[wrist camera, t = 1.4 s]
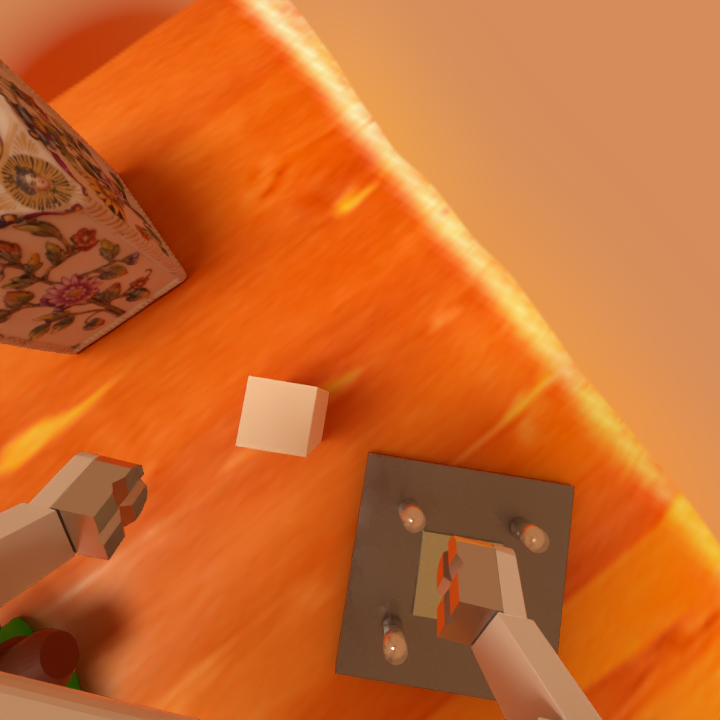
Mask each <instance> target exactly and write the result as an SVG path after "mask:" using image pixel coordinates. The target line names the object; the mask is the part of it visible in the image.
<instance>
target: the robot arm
mask: <svg viewBox="0 0 720 720" xmlns="http://www.w3.org/2000/svg"><path fill="white" fill-rule="evenodd" d="M143 474H144V472H143V469H142V465H138V464H134V463H130V462H126V461H122V460H117V459H113V458H109V457H105V456H102V455H97V454H93V453H88V452H84V451H82V452H80V453H78V454H76V455H75V456H73V457H72V458H71V459H70V461H69V462H68V463H67V464H66V465H65V466H64V467H63V468H62V469H61V470H60V471H59V472H58V473H57V474H56V475H55V476H54V477H53V478H52V479H51V480H50V482H49V483H48V484H47V485H46V486H45V487H44V488H43V489H42V490H41V491H40V492H39V493H38V494H37V495H36V496H35V497H34V498H33V499H32V500H31V501H30V503H24V502H22V503H20V504H18V505H16V506H14V507H12V508H10V509H8V510H5V511H3V512H1V513H0V607H1V606H3V605H4V604H6V603H7V602H9V601H10V600H12V599H13V598H14V597H16V596H17V595H19V594H20V593H22V592H23V591H25V590H26V589H28V588H29V587H30V586H32V585H33V584H35V583H36V582H38V581H39V580H41V579H42V578H44V577H45V576H46V575H48V574H49V573H51V572H52V571H54V570H55V569H57V568H58V567H59V566H61V565H62V564H64V563H65V562H67V561H68V560H70V559H71V558H73V557H74V556H75V554H79V555H84V556H89V557H94V558H99V559H104V560H109V559H110V558H111V556H112V555H113V553H114V552H115V550H116V549H117V547H118V546H119V544H120V543H121V541H122V540H123V538H124V537H125V528H124V527H125V526H127V525H128V524H130V523H132V522H134V521H135V520H136V519H137V517H138V516H139V514H140V513H141V511H142V509H143V507H144V504H145V501H146V499H147V486H146V484H145V483H144V482H143V481H142V480H141V479H140V478H141V477H142V476H143ZM437 591H438V593H439V594H440V596H441V598H442V600H441V602H440V603H439V605H438V607H437V637H439V638H443V639H447V640H451V641H454V642H458V643H462V644H466V645H470V646H472V647H471V649H472V651H473V653H474V655H475V657H476V660H477V662H478V664H479V666H480V668H481V670H482V672H483V674H484V676H485V678H486V680H487V683H488V685H489V687H490V689H491V691H492V693H493V695H494V697H495V699H496V701H497V703H498V706H499V708H500V710H501V712H502V714H503V716H504V718H505V720H602V719H601V717H600V716H599V714H598V713H597V711H596V710H595V708H594V707H593V706H592V704H591V703H590V701H589V700H588V698H587V697H586V695H585V694H584V693H583V691H582V690H581V688H580V687H579V685H578V684H577V682H576V681H575V680H574V678H573V677H572V675H571V674H570V672H569V671H568V669H567V668H566V667H565V665H564V664H563V662H562V661H561V659H560V658H559V656H558V655H557V654H556V652H555V651H554V649H553V648H552V646H551V645H550V643H549V642H548V641H547V639H546V638H545V636H544V635H543V633H542V632H541V630H540V629H539V628H538V626H537V625H536V623H535V622H534V620H531V619H528V618H527V614H526V609H525V603H524V598H523V592H522V587H521V581H520V576H519V570H518V565H517V559H516V554H515V552H514V550H513V549H511V548H508V547H504V546H499V545H494V544H491V543H488V542H483V541H478V540H473V539H468V538H464V537H459V536H452V537H451V538H450V540H449V542H448V551H445V552H443V554H442V556H441V558H440V561H439V566H438V570H437ZM0 720H200V719H196V718H192V717H187V716H183V715H179V714H175V713H171V712H167V711H163V710H158V709H154V708H150V707H146V706H142V705H138V704H134V703H129V702H125V701H121V700H117V699H113V698H109V697H105V696H100V695H96V694H92V693H88V692H84V691H80V690H76V689H71V688H67V687H63V686H59V685H55V684H51V683H47V682H43V681H38V680H34V679H30V678H26V677H22V676H18V675H14V674H9V673H5V672H1V671H0Z"/></svg>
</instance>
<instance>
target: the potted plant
mask: <svg viewBox="0 0 720 720" xmlns="http://www.w3.org/2000/svg"><path fill="white" fill-rule="evenodd" d="M78 658H79V648H78V644H77V642H76V640H75V638H74V637H73V636H72V635H71V634H70V633H68V632H65V631H61V630H57V629H52V628H46V629H42V630H39V631H37V632H35V633H34V632H33V631H32V630H31V629H30V627H29V626H28V625H27V624H26V623H25V622H24V621H23V620H22V619H21V618H20V617H16V618H14V619H12V620H11V621H10V622H9V623H8V624H6V625H5V626H3V627H2V628H1V627H0V671H1V672H5V673H9V674H14V675H18V676H22V677H26V678H30V679H34V680H38V681H43V682H47V683H51V684H55V685H59V686H63V687H67V688H71V689H76V690H80V691H81V688H80V683H79V681H78V678H77V675H76V673H75V671H74V670H75V667H76V665H77V662H78Z"/></svg>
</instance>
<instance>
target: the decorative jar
mask: <svg viewBox="0 0 720 720" xmlns="http://www.w3.org/2000/svg"><path fill="white" fill-rule="evenodd" d="M186 277H187V275H186V272H185V270H184V269H183V267H182V266H181V264H180V263H179V261H178V260H177V258H176V257H175V256H174V254H173V253H172V251H171V250H170V248H169V247H168V246H167V244H166V242H165V241H164V239H163V238H162V237H161V235H160V234H159V233H158V231H157V230H156V228H155V227H154V225H153V223H152V222H151V220H150V219H149V218H148V216H147V215H146V213H145V212H144V211H143V209H142V208H141V206H140V205H139V203H138V202H137V201H136V199H135V198H134V197H133V195H132V194H131V192H130V191H129V189H128V188H127V186H126V185H125V183H124V182H123V181H122V179H121V177H120V176H119V175H118V173H117V172H116V171H115V170H114V169H113V168H112V167H111V166H110V165H109V164H108V163H107V162H106V161H105V160H104V159H103V158H102V157H101V156H100V155H99V154H98V153H97V152H96V151H95V150H94V149H93V148H92V147H91V146H90V145H89V144H88V143H87V142H86V141H85V140H84V139H83V138H82V137H81V136H80V135H79V134H78V133H77V132H76V131H75V130H74V129H73V128H72V127H71V126H70V125H69V124H68V123H67V122H66V121H65V120H64V119H63V118H61V117H60V115H59V114H57V112H56V111H54V110H53V109H52V108H51V107H50V106H49V105H48V104H47V103H46V102H45V101H44V100H43V99H42V98H41V97H40V96H39V95H38V94H37V93H35V92H34V91H33V90H32V89H31V88H30V87H29V86H28V85H27V84H26V83H25V82H23V80H21V79H20V78H19V77H18V76H17V75H16V74H15V73H14V72H13V71H12V70H11V69H10V68H9V67H8V66H7V65H6V64H5V63H4V62H2V61H1V60H0V343H2V344H8V345H13V346H19V347H24V348H31V349H37V350H42V351H48V352H56V353H63V354H76V353H77V352H79V351H81V350H82V349H83V348H85V347H87V346H88V345H89V344H91V343H93V342H94V341H95V340H97V339H99V338H101V337H102V336H104V335H105V334H107V333H108V332H109V331H111V330H113V329H114V328H115V327H117V326H118V325H120V324H121V323H123V322H124V321H126V320H127V319H128V318H130V317H131V316H133V315H134V314H136V313H137V312H138V311H140V310H141V309H143V308H144V307H146V306H147V305H149V304H150V303H151V302H153V301H154V300H156V299H157V298H159V297H160V296H161V295H163V294H165V293H166V292H168V291H169V290H171V289H172V288H174V287H175V286H177V285H178V284H180V283H181V282H183V281H184V280H185V279H186Z"/></svg>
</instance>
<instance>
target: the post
mask: <svg viewBox="0 0 720 720" xmlns="http://www.w3.org/2000/svg"><path fill="white" fill-rule="evenodd" d="M329 393H330V392H328V391H326V390H324V389H321V388H319V387H315V386H309V385H303V384H296V383H290V382H284V381H277V380H271V379H265V378H259V377H252V376H249V377H248V383H247V388H246V393H245V399H244V404H243V409H242V415H241V420H240V425H239V431H238V436H237V441H236V446H239V447H245V448H252V449H258V450H264V451H270V452H276V453H283V454H289V455H295V456H301V457H306V456H307V455H308V454H309V453H310V452H311V451H312V450H313V449H314V448H315V447H316V446H317V445H318V444H320V443H321V441H322V435H323V429H324V423H325V417H326V411H327V405H328V399H329Z"/></svg>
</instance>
